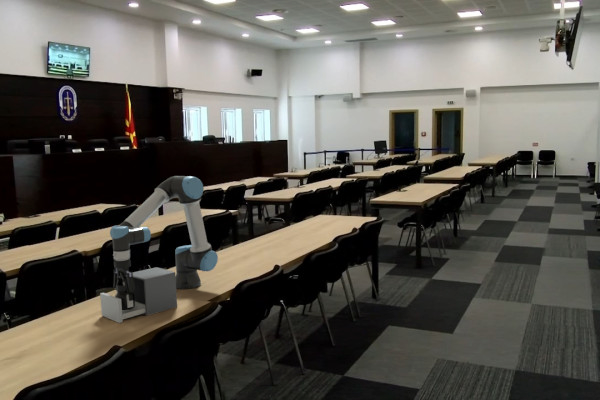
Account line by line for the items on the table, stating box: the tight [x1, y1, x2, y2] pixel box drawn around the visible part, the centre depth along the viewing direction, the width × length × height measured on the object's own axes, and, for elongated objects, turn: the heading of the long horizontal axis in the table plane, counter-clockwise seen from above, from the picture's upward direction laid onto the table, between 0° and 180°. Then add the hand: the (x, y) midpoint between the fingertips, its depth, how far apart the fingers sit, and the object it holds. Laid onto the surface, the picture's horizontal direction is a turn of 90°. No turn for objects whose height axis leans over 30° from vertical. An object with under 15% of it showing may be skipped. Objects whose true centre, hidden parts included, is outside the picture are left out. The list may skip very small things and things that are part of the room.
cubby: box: [132, 266, 178, 316], centre depth 267 cm, size 17×17×18 cm
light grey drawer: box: [99, 292, 146, 324], centre depth 257 cm, size 17×17×11 cm
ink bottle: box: [114, 281, 135, 310], centre depth 256 cm, size 10×9×12 cm
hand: (125, 305), depth 257 cm, fingers closed on ink bottle, 9 cm apart
